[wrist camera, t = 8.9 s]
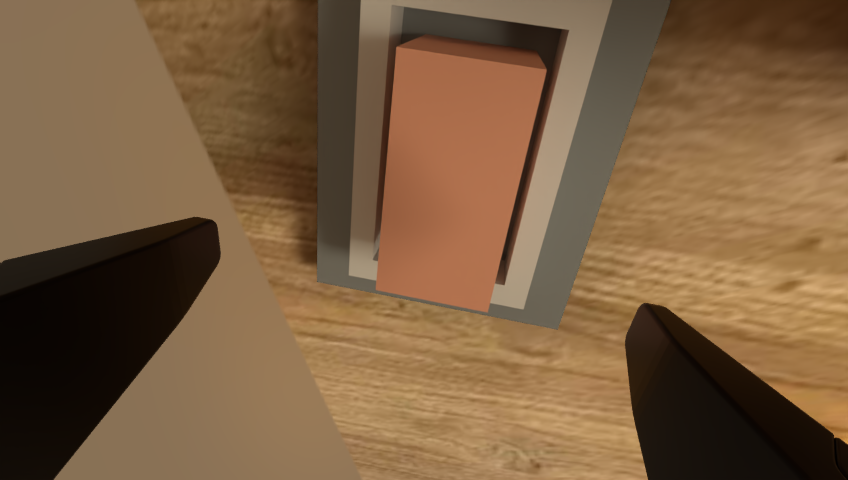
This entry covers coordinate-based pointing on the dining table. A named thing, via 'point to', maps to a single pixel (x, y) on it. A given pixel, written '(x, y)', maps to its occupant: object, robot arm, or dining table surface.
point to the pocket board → (548, 148)
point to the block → (454, 166)
